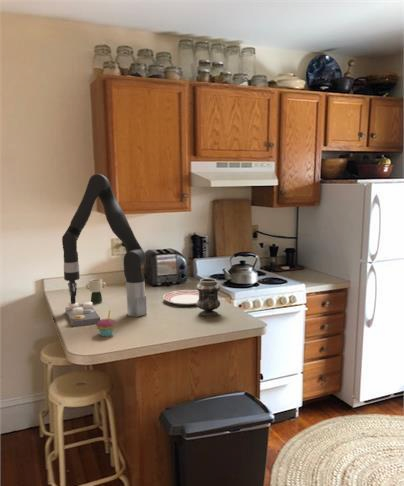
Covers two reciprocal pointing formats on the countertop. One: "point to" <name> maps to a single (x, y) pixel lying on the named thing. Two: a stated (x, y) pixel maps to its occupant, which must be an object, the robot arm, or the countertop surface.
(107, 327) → the cupcake
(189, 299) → the dinner plate
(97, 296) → the character mug
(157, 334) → the countertop surface
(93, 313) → the button board
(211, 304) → the apothecary jar
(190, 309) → the countertop surface
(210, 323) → the countertop surface
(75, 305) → the button back
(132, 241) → the robot arm
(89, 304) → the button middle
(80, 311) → the button front
